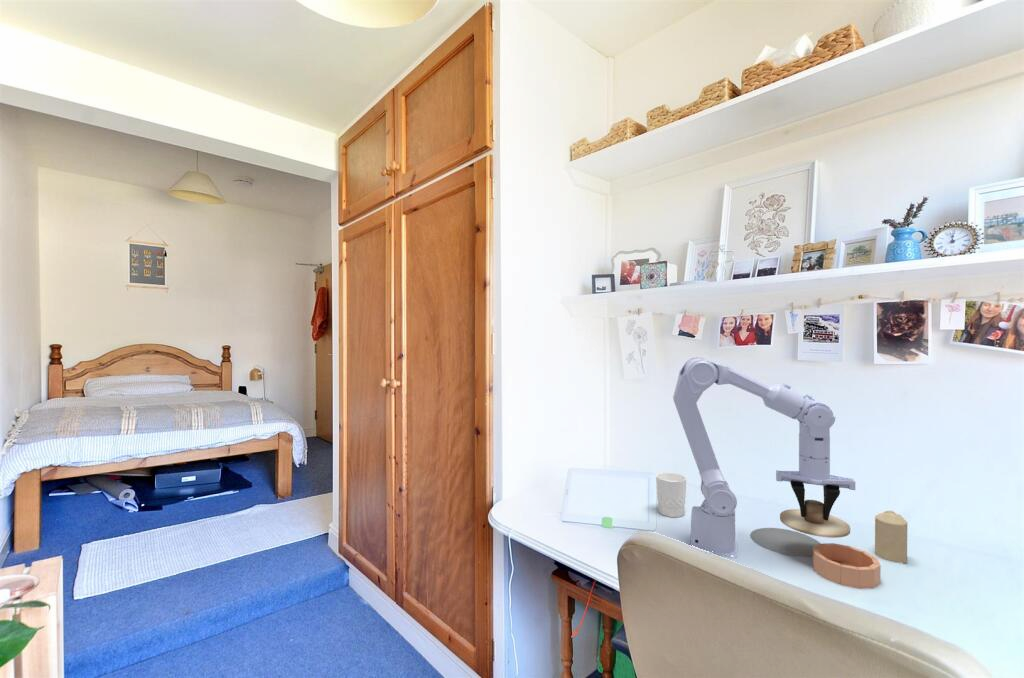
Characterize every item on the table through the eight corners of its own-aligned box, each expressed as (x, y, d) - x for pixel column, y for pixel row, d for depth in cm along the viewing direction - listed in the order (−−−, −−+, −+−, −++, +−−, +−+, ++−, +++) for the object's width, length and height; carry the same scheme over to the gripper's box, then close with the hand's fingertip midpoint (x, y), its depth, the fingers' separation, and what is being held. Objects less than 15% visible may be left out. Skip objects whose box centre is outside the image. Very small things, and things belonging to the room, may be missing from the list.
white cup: (689, 519, 124) (689, 482, 124) (658, 517, 126) (658, 480, 125) (683, 507, 132) (683, 472, 132) (654, 506, 134) (654, 471, 133)
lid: (779, 528, 101) (779, 506, 101) (780, 508, 112) (780, 488, 112) (853, 543, 94) (853, 519, 94) (847, 519, 105) (847, 498, 105)
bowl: (816, 581, 94) (816, 561, 93) (810, 557, 103) (810, 539, 103) (885, 595, 88) (885, 574, 88) (872, 568, 98) (872, 550, 98)
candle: (875, 549, 107) (875, 506, 106) (906, 557, 103) (907, 512, 103) (874, 559, 102) (874, 513, 102) (907, 567, 99) (907, 520, 99)
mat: (749, 549, 107) (749, 548, 107) (750, 525, 120) (750, 523, 120) (828, 564, 100) (828, 562, 100) (819, 536, 113) (819, 535, 113)
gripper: (777, 456, 102) (777, 518, 103) (858, 464, 96) (858, 530, 96) (775, 448, 109) (775, 507, 109) (851, 455, 102) (851, 517, 102)
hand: (814, 517), depth 103 cm, fingers closed on lid, 4 cm apart
